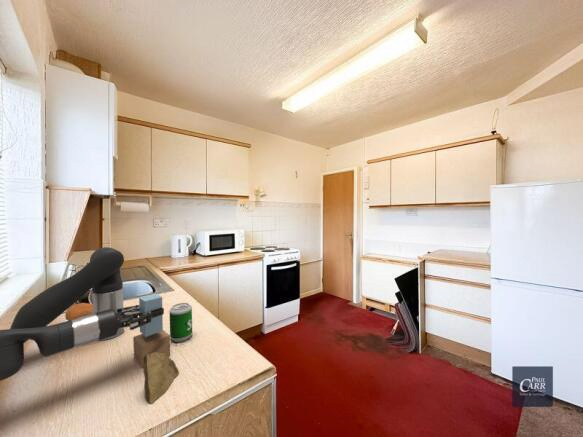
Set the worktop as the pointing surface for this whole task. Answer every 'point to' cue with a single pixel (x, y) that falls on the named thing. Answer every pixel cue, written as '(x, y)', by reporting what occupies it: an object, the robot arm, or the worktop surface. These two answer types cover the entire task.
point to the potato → (78, 311)
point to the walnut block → (150, 345)
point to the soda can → (180, 322)
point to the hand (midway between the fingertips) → (159, 308)
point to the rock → (157, 375)
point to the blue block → (147, 305)
